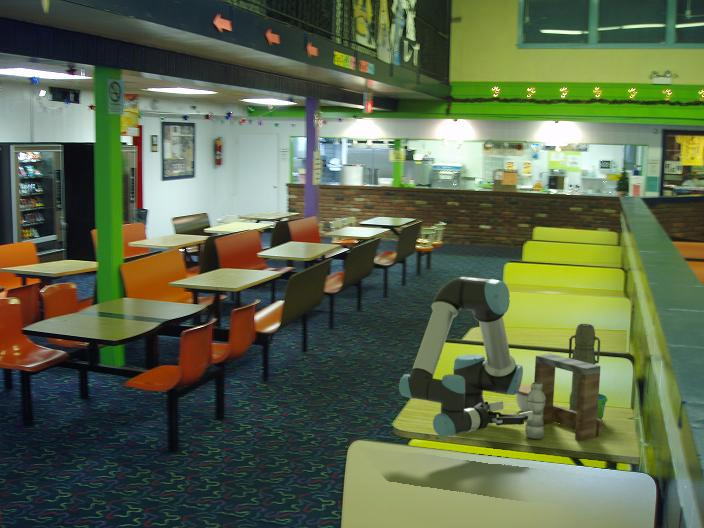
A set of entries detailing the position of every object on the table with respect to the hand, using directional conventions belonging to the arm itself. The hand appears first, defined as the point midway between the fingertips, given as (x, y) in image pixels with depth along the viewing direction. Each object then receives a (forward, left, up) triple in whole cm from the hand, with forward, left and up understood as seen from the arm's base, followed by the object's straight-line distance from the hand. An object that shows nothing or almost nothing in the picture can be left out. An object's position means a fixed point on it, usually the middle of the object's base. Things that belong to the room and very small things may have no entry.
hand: (516, 410), depth 281 cm
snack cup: (-17, +41, -12) cm, 46 cm away
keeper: (-9, +26, -12) cm, 30 cm away
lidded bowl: (-33, +24, -12) cm, 43 cm away
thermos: (-31, +45, -12) cm, 56 cm away
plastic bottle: (-3, +9, -12) cm, 16 cm away
